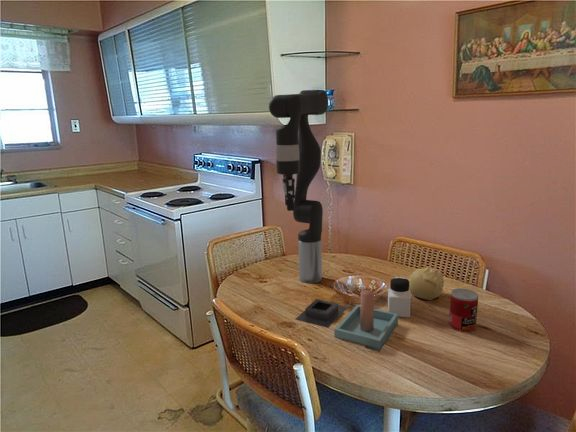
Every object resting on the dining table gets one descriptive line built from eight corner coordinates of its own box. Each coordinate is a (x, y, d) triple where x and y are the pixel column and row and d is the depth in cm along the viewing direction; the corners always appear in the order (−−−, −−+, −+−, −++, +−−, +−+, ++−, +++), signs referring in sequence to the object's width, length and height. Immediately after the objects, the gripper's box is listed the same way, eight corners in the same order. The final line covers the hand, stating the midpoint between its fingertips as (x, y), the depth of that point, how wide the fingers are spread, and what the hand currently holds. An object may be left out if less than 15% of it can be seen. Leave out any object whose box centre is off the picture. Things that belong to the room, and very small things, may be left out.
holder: (316, 302, 148) (316, 293, 147) (347, 309, 142) (347, 300, 141) (294, 322, 135) (294, 312, 134) (328, 330, 129) (327, 320, 128)
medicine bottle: (410, 318, 135) (412, 284, 132) (388, 316, 136) (389, 283, 133) (408, 308, 142) (410, 275, 139) (387, 306, 143) (388, 274, 140)
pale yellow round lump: (439, 305, 143) (440, 276, 140) (404, 298, 149) (405, 270, 146) (446, 293, 152) (447, 265, 150) (413, 287, 158) (414, 260, 156)
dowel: (363, 324, 130) (363, 289, 127) (375, 327, 128) (376, 291, 125) (358, 330, 126) (358, 294, 123) (370, 333, 124) (371, 296, 121)
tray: (356, 314, 138) (356, 305, 137) (397, 323, 131) (398, 313, 130) (334, 339, 123) (334, 329, 122) (379, 351, 116) (380, 340, 115)
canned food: (464, 334, 124) (466, 301, 121) (443, 323, 131) (445, 291, 128) (481, 328, 127) (484, 295, 124) (460, 317, 134) (462, 286, 131)
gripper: (301, 160, 126) (303, 212, 130) (297, 156, 140) (298, 202, 144) (277, 161, 126) (279, 213, 129) (275, 157, 139) (277, 203, 143)
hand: (289, 207), depth 137 cm, fingers open, 8 cm apart
